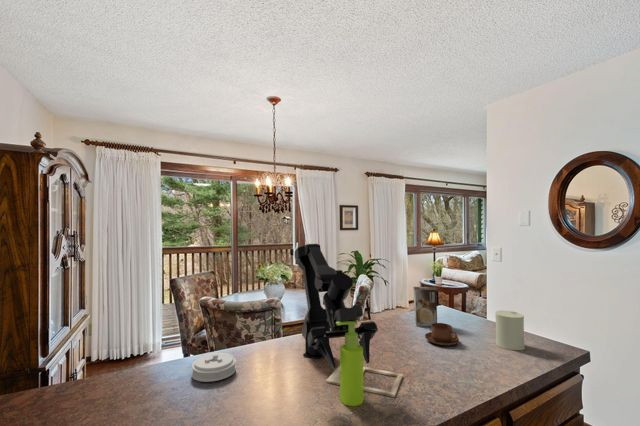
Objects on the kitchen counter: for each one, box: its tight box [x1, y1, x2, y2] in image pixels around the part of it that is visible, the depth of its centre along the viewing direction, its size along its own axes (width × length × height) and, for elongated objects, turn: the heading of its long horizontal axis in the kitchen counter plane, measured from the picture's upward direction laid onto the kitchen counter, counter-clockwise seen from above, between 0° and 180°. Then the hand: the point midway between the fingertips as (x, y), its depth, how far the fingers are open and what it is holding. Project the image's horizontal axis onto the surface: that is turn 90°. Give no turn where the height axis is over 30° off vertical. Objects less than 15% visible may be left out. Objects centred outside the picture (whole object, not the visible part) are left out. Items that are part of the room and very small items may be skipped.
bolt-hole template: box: [326, 364, 404, 398], centre depth 92 cm, size 19×12×1 cm, turn 66°
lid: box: [191, 352, 237, 383], centre depth 96 cm, size 13×13×5 cm
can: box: [494, 310, 526, 351], centre depth 118 cm, size 9×9×12 cm
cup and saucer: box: [424, 322, 460, 346], centre depth 121 cm, size 12×12×6 cm
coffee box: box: [413, 286, 438, 327], centre depth 142 cm, size 9×6×16 cm
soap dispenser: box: [336, 320, 365, 407], centre depth 82 cm, size 6×7×20 cm
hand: (351, 365), depth 81 cm, fingers open, 9 cm apart
